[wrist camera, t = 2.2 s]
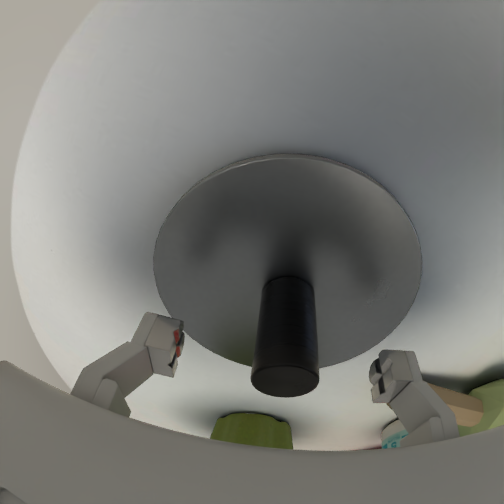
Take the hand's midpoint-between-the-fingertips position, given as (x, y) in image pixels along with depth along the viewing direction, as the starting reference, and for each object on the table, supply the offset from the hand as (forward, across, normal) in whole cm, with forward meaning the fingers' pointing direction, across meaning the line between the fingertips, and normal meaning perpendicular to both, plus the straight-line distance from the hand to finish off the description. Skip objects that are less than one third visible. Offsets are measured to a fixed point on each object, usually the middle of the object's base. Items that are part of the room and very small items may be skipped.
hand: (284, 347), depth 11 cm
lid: (+3, 0, 0) cm, 3 cm away
